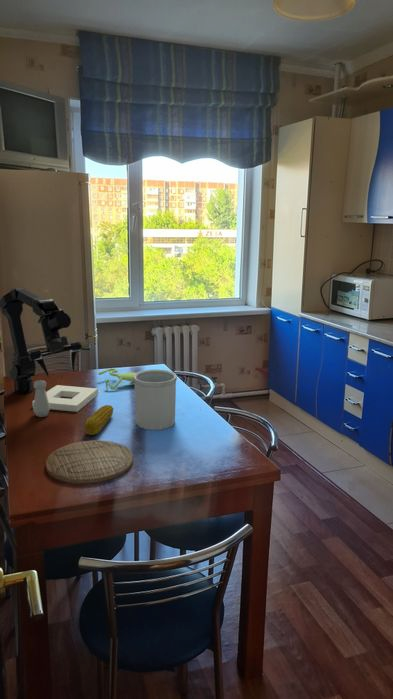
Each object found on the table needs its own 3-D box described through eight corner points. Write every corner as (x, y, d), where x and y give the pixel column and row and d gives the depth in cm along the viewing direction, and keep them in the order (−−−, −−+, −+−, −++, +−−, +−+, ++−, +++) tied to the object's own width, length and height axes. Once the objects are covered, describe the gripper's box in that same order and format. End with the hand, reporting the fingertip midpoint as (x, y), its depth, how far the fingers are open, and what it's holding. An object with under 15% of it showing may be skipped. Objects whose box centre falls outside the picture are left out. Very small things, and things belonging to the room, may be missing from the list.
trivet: (40, 453, 156) (40, 447, 156) (120, 440, 166) (119, 435, 166) (53, 493, 134) (53, 486, 134) (144, 475, 144) (144, 469, 144)
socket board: (32, 407, 193) (32, 401, 192) (57, 390, 212) (56, 385, 211) (77, 411, 189) (76, 405, 189) (98, 394, 208) (97, 388, 208)
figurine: (98, 379, 229) (98, 367, 228) (157, 376, 234) (157, 365, 233) (99, 392, 211) (98, 380, 210) (163, 389, 217) (163, 377, 215)
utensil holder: (170, 433, 172) (170, 383, 168) (128, 428, 175) (127, 380, 170) (180, 417, 186) (181, 371, 182) (141, 413, 189) (141, 368, 185)
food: (99, 438, 167) (98, 421, 166) (82, 437, 168) (81, 420, 166) (116, 414, 187) (115, 399, 186) (101, 413, 188) (100, 398, 187)
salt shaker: (52, 412, 188) (50, 378, 185) (46, 418, 183) (44, 383, 179) (37, 411, 189) (35, 378, 186) (30, 417, 183) (28, 383, 180)
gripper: (25, 336, 178) (36, 380, 178) (78, 325, 184) (88, 367, 184) (24, 338, 188) (34, 380, 189) (75, 328, 194) (84, 368, 195)
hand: (60, 374), depth 189 cm, fingers open, 9 cm apart
